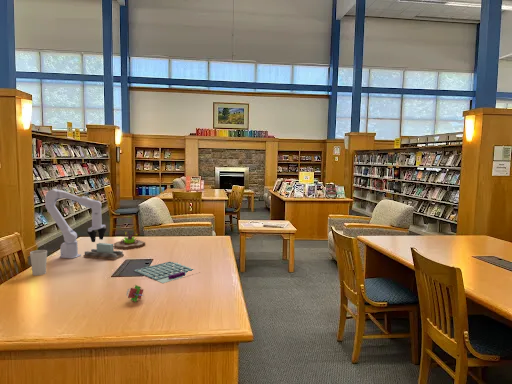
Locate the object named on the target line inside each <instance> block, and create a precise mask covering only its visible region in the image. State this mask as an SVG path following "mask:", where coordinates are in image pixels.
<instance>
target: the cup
mask: <svg viewBox="0 0 512 384" xmlns="http://www.w3.org/2000/svg"><path fill="white" fill-rule="evenodd" d="M29 256H30V263H31V265H30V266H31V271H32V276H43V275H46V274H47V258H48V257H47V256H48V250H47V249H36V250H32V251H30V252H29Z"/></svg>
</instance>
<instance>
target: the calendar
mask: <svg viewBox="0 0 512 384" xmlns="http://www.w3.org/2000/svg"><path fill="white" fill-rule="evenodd" d="M185 265H186V264H184V265H182V263H179V262H174V261H166V262H163V263H158V264H154V265H150V266H145V267H142V268H137V269H134V270H133V272H135V273H137V274H140V275H142V276H144V277H147V278H149V279H152V280H153V281H156V282H158V283H161V284H165V283H169V282H173V281H176V280H179V278H180V279H182V277H183V276H185V275H186V273H187V272H188V271H192V270H194V269H191V268H192V267H190V266H187V265H186V266H185ZM189 267H190V268H189ZM183 278H184V277H183ZM172 280H173V281H172Z"/></svg>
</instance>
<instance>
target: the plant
mask: <svg viewBox="0 0 512 384" xmlns="http://www.w3.org/2000/svg"><path fill="white" fill-rule="evenodd" d="M134 234H135V235H136V236H138V233H137V232H133V233H132V234H130V232H129V231H124V235H125V236H126V237H124V238H122V239H121V240H120V241H116V242H114V243H113V248H114V249H117V250H125V251H127V250H133V249H139V248H143V247H146V241H142V240H140V239H136V238H135V237H136V236H134Z"/></svg>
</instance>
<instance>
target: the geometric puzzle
mask: <svg viewBox="0 0 512 384" xmlns="http://www.w3.org/2000/svg"><path fill="white" fill-rule="evenodd" d="M144 290H145V289H144V288H143V287H142V286H139V285H137V284H134V287H130V288H128V289H127V291H126V296H127V298H128V299H129V300H130V301H132V300H133V301H132V302H134V301H135V303H137V302H139V301H140V300H141V299H142V297H144Z"/></svg>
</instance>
